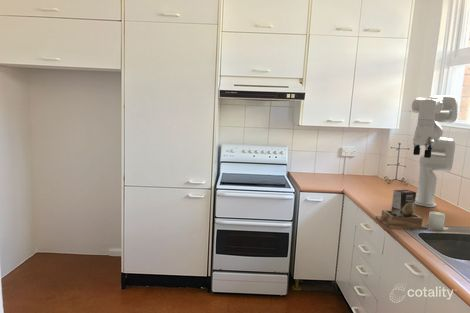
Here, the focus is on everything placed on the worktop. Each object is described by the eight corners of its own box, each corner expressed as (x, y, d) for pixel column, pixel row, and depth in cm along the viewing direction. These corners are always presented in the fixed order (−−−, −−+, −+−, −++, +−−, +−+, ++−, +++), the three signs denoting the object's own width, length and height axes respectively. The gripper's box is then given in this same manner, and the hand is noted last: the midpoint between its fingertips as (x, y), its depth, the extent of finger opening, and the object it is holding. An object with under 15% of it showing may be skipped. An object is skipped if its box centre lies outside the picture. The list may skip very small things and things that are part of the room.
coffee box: (399, 224, 174) (403, 193, 172) (389, 220, 180) (393, 189, 178) (413, 222, 177) (416, 192, 175) (403, 218, 183) (406, 188, 181)
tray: (375, 217, 186) (376, 208, 185) (410, 218, 187) (411, 209, 186) (390, 228, 170) (391, 218, 170) (427, 229, 171) (429, 219, 171)
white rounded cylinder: (424, 224, 179) (426, 211, 178) (438, 224, 179) (439, 211, 178) (433, 229, 172) (434, 215, 171) (446, 229, 172) (448, 215, 171)
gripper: (409, 122, 187) (405, 153, 189) (428, 124, 170) (424, 158, 172) (422, 122, 187) (419, 154, 190) (443, 124, 170) (439, 159, 173)
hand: (421, 156), depth 181 cm, fingers open, 9 cm apart
